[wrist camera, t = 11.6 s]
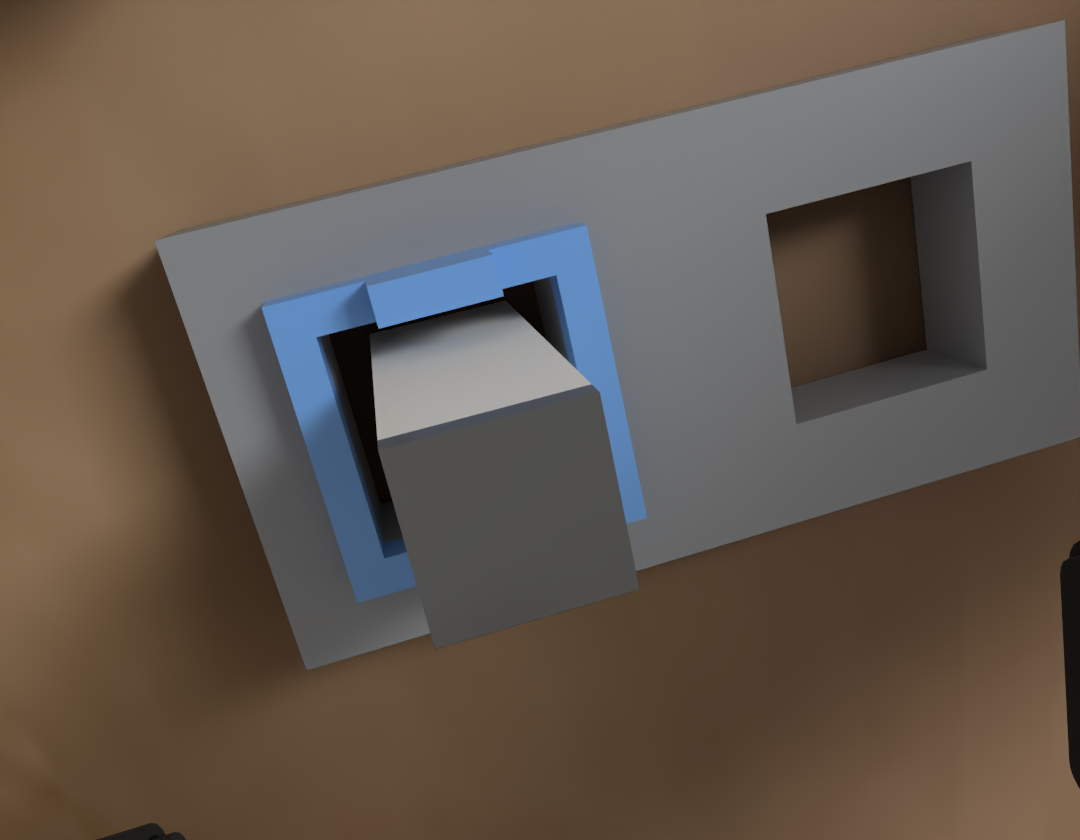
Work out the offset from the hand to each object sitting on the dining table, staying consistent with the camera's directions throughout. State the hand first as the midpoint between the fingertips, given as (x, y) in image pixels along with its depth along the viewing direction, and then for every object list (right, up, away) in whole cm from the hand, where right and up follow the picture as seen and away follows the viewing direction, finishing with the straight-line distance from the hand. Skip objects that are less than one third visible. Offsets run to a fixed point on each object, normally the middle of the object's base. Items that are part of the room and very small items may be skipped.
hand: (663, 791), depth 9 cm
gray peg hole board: (+2, +6, +18) cm, 20 cm away
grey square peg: (-4, +5, +18) cm, 19 cm away
